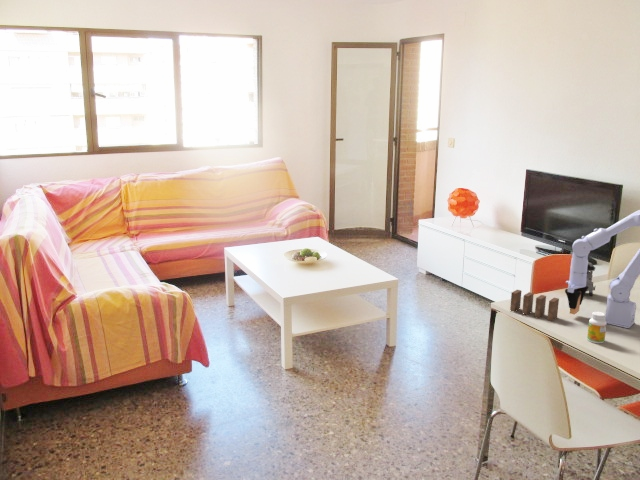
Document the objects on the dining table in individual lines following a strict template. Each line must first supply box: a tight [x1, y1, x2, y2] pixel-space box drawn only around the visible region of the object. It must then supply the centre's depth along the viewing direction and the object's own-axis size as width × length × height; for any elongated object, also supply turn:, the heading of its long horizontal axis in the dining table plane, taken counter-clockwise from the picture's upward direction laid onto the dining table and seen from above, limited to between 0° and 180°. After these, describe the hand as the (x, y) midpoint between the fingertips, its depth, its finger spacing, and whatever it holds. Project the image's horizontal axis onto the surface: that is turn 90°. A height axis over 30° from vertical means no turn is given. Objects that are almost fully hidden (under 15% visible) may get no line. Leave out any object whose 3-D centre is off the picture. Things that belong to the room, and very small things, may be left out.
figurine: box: [586, 261, 596, 297], centre depth 250 cm, size 9×12×15 cm
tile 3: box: [534, 294, 547, 319], centre depth 226 cm, size 2×5×8 cm, turn 139°
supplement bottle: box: [586, 311, 607, 344], centre depth 203 cm, size 5×5×10 cm
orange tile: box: [569, 291, 581, 315], centre depth 225 cm, size 2×5×8 cm, turn 139°
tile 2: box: [546, 297, 560, 322], centre depth 223 cm, size 2×5×8 cm, turn 139°
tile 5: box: [509, 289, 522, 312], centre depth 232 cm, size 2×5×8 cm, turn 139°
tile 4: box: [521, 291, 535, 315], centre depth 229 cm, size 2×5×8 cm, turn 139°
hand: (575, 306), depth 225 cm, fingers closed on orange tile, 5 cm apart
